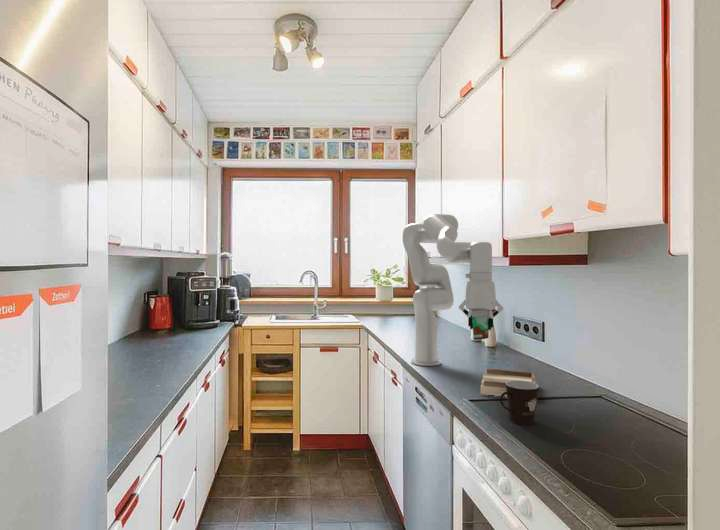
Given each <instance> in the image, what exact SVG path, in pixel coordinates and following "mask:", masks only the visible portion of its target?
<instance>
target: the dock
mask: <svg viewBox="0 0 720 530" xmlns="http://www.w3.org/2000/svg"><path fill="white" fill-rule="evenodd" d="M512 380H521V381H528V382H533V383H535V384H537V381H536V374H535V372H531V371H521V370H520V371H519V370H509V369H496V368H495V369H494V368H486V372H484V373H483V375H482V379H481V382H480V383H481V384H480V395H481V396H488V395H494V396H493V397H498V396H501V395H502V394H503V393H504V392H506V382H507V381H512ZM504 396H506V397H505V398H507V394H505V395H504Z"/></svg>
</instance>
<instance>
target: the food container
mask: <svg viewBox="0 0 720 530" xmlns="http://www.w3.org/2000/svg"><path fill="white" fill-rule="evenodd" d="M489 315H490V312H489V311H488V310H474V311H472V322H473V329H472V335H473V338H472V339H473V340H474V341H477V340H486V339H489V337H490V336H489V335H490V334H489V333H490V330H489Z"/></svg>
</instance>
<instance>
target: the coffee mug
mask: <svg viewBox="0 0 720 530" xmlns="http://www.w3.org/2000/svg"><path fill="white" fill-rule="evenodd" d="M539 389H540V386H539V384H537V383H536V384H535V383H533V382H528V381H521V380H512V381H507V382H506V392H504V393H503V394H502V395H501V397H499V404H500V405H501V407H503V409H505V410H506V411H508V418H509V419H508V420H509V422H511V423H512V424H515V425H520V426H530V425H534V423H535V418H536V412H537V403H538V395H539ZM505 394H507V397H506V400H507V406H505V404H504V403H503V398H504V397H503V396H504V395H505Z"/></svg>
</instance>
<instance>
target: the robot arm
mask: <svg viewBox="0 0 720 530" xmlns="http://www.w3.org/2000/svg"><path fill="white" fill-rule="evenodd" d="M458 221H459V220H458V219H457V218H456V217H455V216H454V215H452V214H445V213H444V214H443V213H431V214H428V215H427V216H426V217H424V218H423V221H422V222H421V223H420V222H413V223H409V224H407V225H406V226H405V227H404V229H403V230H402V243H403V248H404V251H405V252H406V255H407V258H408V261H409V268H410V272H411V277H412V282H413V283H414V285H416V286H418V287H424V288H420V289H419V288H418V289H417V290H416V291H415V292H414V293H413V297H412V303H413V308H414V321H415V323H414V344H415V345H414V357H413V358H411V359H410V361H411V363H412V364H413V365H415V366H420V367H421V366H423V367H424V366H426V367H435V366H439V365H441V364H442V360H441V359H440V358H438V357H439V355H438V352H439V351H438V350H439V349H438V347H439V338H438V337H439V322H438V317H437V316H436V314H435V313H434V312H435V311H446V310H447V311H448V310H450V309H451V308H452V307H453V305H454V294H453V287H452V283H451V279H450V275H449V271H448V269H447V268H446V267H445V265H443V264H435V263H433V264H432V263H430V260H429V259H430V258H429V255H428V252H427V250H426V249H425V248H424V246H423V245H421V243H422V244H436V249H437V252H438V254H439V255H440V256H441V257H442V259H444V260H446V261H447V262H449V263H453V264H458V263H459V264H469V273H465V279H466V278H467V279H468V280H469V281H467V282H466V286H465V287H466V288H465V300H463V301H462V303H461V304H459V305H458V309H459V311H461V312H463V314H464V315H465V316H466V317H467V318H468V319H467V320H468V322H467V323H468V324H467V325H468V327H469V330H473V322H472V311H474V310H488V311H489V312H490V315H489V331H491V330H492V329H493V328H494V318H495V317H496V316H497V315H499V314H500V313H501V312H502V311H503V310H504V307H503V305H501V303H500V302H499V301H498V300H497V296H496V295H497V294H496V285H495V281H494V280H493V246H492V243H491V242H487V241H474V242H470V241H469V242H468V241H464V242H463V241H456V240H457V238H458V229H459V222H458ZM429 287H430V288H429ZM496 307H497V309H496ZM495 309H496V310H495ZM494 310H495V311H494ZM493 311H494V312H493Z"/></svg>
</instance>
